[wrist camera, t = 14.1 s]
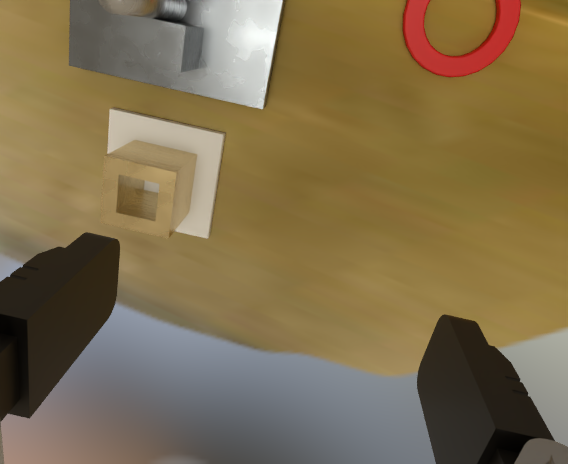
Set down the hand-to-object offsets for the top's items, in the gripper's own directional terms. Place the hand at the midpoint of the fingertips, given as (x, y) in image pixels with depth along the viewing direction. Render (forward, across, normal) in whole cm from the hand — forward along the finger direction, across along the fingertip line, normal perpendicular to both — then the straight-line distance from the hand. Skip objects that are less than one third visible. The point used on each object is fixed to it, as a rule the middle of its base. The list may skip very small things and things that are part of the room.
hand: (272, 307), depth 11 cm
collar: (+29, +12, +8) cm, 33 cm away
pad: (+30, +12, +8) cm, 33 cm away
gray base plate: (+30, +12, -6) cm, 33 cm away
